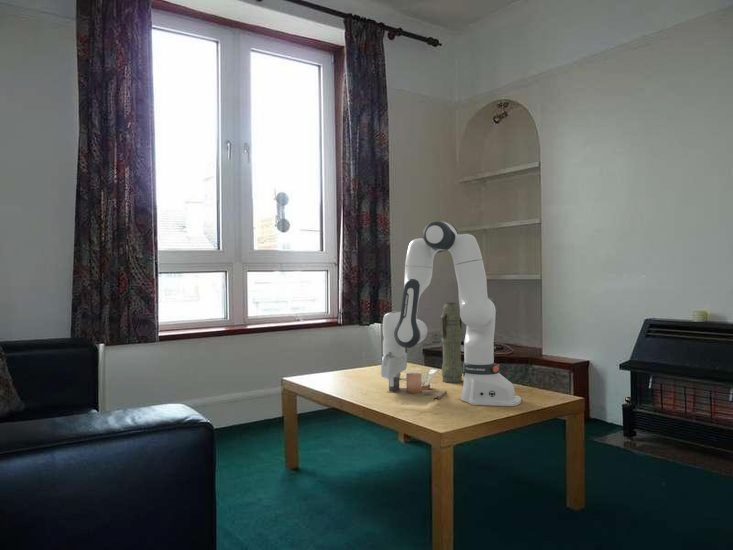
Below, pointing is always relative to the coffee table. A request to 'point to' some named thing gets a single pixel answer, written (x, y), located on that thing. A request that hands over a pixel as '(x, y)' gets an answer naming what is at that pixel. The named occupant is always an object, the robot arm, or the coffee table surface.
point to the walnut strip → (424, 392)
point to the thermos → (451, 343)
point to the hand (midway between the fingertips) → (394, 384)
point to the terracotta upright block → (414, 382)
